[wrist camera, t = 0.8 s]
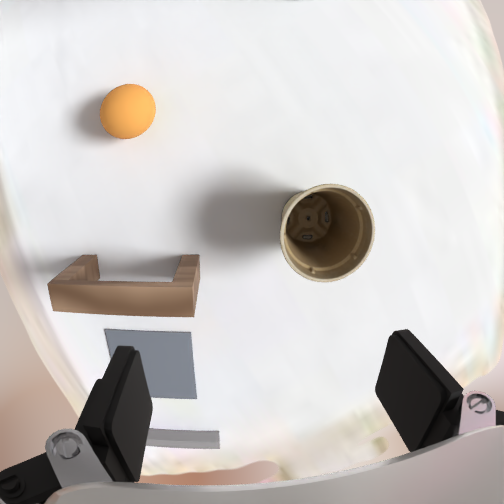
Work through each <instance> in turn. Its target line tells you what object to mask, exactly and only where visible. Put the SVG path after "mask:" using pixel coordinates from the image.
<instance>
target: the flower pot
mask: <svg viewBox="0 0 504 504" xmlns="http://www.w3.org/2000/svg"><path fill="white" fill-rule="evenodd" d="M307 195H311V196H312V198H306V199H303V198H304V197H306V196H307ZM325 212H327V214H328V222H325ZM288 216H289V218H290V219H289V223H287V219H288ZM308 216H309V217H310V220H307V217H308ZM304 235H312V238H311V239H303V236H304ZM374 235H375V224H374V218H373V215H372V212H371V209H370V207H369V206H368V204H367V202H366V201H365V200H364V198H363V197H362V196H360V194H358V193H357V192H356V191H354V190H353V189H351V188H348V187H346V186H343V185H338V184H323V185H319V186H315V187H313V188H310V189H308V190H306V191H305V192H301V193H298V194H296V195H294V196H293V197H292V198H291V199H290V200H289V201H288V202H287V203H286V205H285V206H284V209H283V212H282V223H281V228H280V244H281V249H282V252H283V255H284V257H285V259H286V261H287V262H288V264H289V265H290V266H291V268H292V269H293V270H294V271H295V272H297V273H298V274H299V275H301V276H302V277H304V278H306V279H309V280H312V281H317V282H332V281H337V280H340V279H343V278H345V277H347V276H348V275H350V274H352V273H353V272H355V271H356V270H357V269H358V268H359V267H360V266H361V265H362V264H363V263H364V261H365V260H366V258H367V257H368V255H369V253H370V251H371V248H372V245H373V242H374Z"/></svg>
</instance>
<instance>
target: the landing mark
mask: <svg viewBox="0 0 504 504" xmlns="http://www.w3.org/2000/svg"><path fill="white" fill-rule="evenodd" d="M105 332H106V337H107V342H108V346H109V351H110V355H111V358H112V356H113V354H114V352H115V350H116V348H117V346H119V345H121V346H133V347H134V348H135V350H139V352H140V356H141V360H142V364H143V369H144V373H145V377H146V381H147V385H148V389H149V393H150V397H155V398H175V399H197V394H196V384H195V374H194V363H193V352H192V339H191V332H161V331H134V330H115V329H105Z"/></svg>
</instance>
